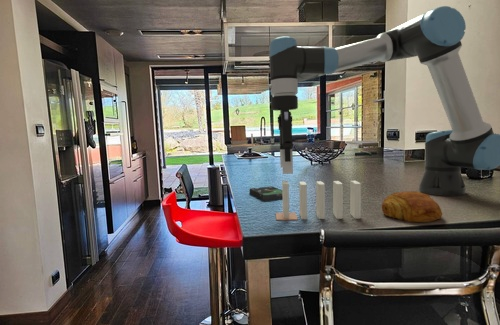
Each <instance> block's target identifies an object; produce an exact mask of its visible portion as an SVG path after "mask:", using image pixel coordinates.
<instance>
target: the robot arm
mask: <svg viewBox="0 0 500 325" xmlns="http://www.w3.org/2000/svg"><path fill="white" fill-rule="evenodd" d="M466 26H467V25H466V20H465V18H464V17H463V15H462V14H461V12H460V11H459V10H457V8H453V7H451V6H447V5H443V6H439V7H436V8H433V9H430V10H427V11H426V12H424V13H422V14H420V15H418V16H417V17H414V18H412V19H410V20H408V21H406V22H403V23H402V24H400V25H398V26H396V27H394V28H391V30H388V31H384V32H382V33H379V34H378V35H377V36H376V37H374V38H370V39H366V40H363V41H358V42H354V43H351V44H346V45H343V46H338V47H335V48H334V47H333V46H332V47H329V46H324V45H323V46H298V43H297V39H296V38H295V37H292V36H291V37H290V36H279V37H276V38H273V39H272V40H271V41H270V43H269V56H268V58H269V72H270V74H269V75H270V84H268V86H267V87H268V88H269V89H270V95H271V96H272V97H271V98H270V106H271V107H270V108H271V110H272V111H276V112H279V111H280V112H279V113H280V114H279V115H278V117H277V123H278V130H279V159H280V160H279V162H280V164H279V165H280V168H282V174H283V175H293V174H294V165H293V164H294V162H293V159H294V158H293V148H294V143H293V130H292V129H293V116H292V110H293V111H294V110H298V107H299V103H298V100H299V99H298V96H297V94H298V93H299V91H298V90H299V89H298V88H299V87H298V86H299V85H298V83H302V82H304V81H307V80H310V79H311V80H312V79H314V78H318V77H321V76H326V75H332V74H334V73H336V72H340V71H341V72H342V71H344V70H349V69H352V68H356V67H359V66H363V65H366V64H370V63H374V62H378V61H379V62H381V63H386V62H391V61H396V60H403V59H409V58H415V57H417V58H418V60H419V63H420V64H421V65H425V66H426V67H427V68H428V71H429V74H430V76H431V79H432V81H433V83H434V86H435V89H436V91H437V94H438V97H439V99H440V101H441V104H442V107H443V109H444V111H445V115H446V117H447V120H448V123H449V125H450V127H451V129H450V130H449V129H448V130H440V131H433V132H429V133H427V134H426V136H425V142H424V172H423V174H422V178H421V179H420V182H419V185H418V192H420V193H424V194H428V195H433V196H434V195H435V196H451V197H452V196H453V197H455V196H456V197H457V196H463V195H465V194H467V193H466V189H467V188H466V184H465V181H464V179H463V176H462V172H461V170H462V168H467V169H475V170H477V171H478V170H479V171H482V170H484V171H491V170H494V169H496V168H498V167H499V166H500V133H494V130H493V128H492V125H491V124H490V123H489V122H486V121H484V120H483V117H482V114H481V111H480V109H479V106H478V103H477V101H476V98H475V96H474V93H473V89H472V87H471V84H470V80H469V79H468V76H467V72H466V70H465V68H464V65H463V63H462V60H461V57H460V54H459V52H460V50H461V48H462V46H463V44H462V41H461V40H462V39H463V38H464V36H465V34H466V32H465V30H466Z"/></svg>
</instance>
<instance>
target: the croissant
mask: <svg viewBox="0 0 500 325" xmlns="http://www.w3.org/2000/svg"><path fill="white" fill-rule="evenodd" d="M381 210H382V213H383V214H384V215H385V216H386V217H389V218H393V219H397V220H401V221H404V222H407V223H408V222H409V223H412V222H413V223H431V222H434V221H438V220H439V219H442V217H443V212H442V209H441V206H440V205H439V203H438V202H436V201H435V200H434V199H433V198H432V197H431V196H430V194H427V193H423V192H421V191H414V190H413V191H412V190H411V191H400V192H393V193H391V194H390V195H388V196H387V197H385V198H384V200H383V201H382V203H381Z"/></svg>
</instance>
